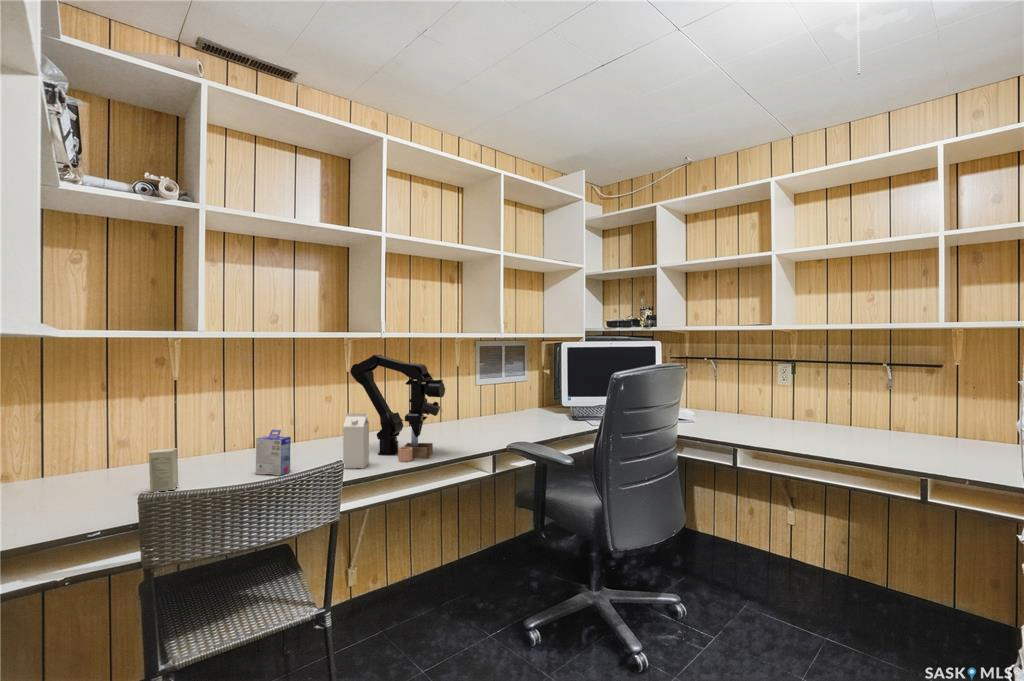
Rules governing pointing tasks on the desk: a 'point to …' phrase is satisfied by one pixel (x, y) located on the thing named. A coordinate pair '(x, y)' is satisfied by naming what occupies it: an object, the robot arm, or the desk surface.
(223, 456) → the desk surface
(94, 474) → the desk surface
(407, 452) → the terracotta pot
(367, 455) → the milk carton
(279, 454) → the ink cartridge box
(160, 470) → the skincare box
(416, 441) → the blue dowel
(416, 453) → the walnut tray
